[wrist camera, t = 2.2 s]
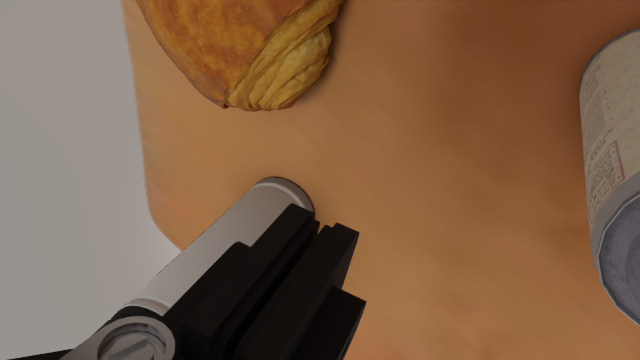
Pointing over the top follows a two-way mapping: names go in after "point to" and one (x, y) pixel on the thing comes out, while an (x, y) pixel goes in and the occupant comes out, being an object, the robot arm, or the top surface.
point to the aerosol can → (614, 167)
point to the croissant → (245, 46)
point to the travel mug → (214, 246)
